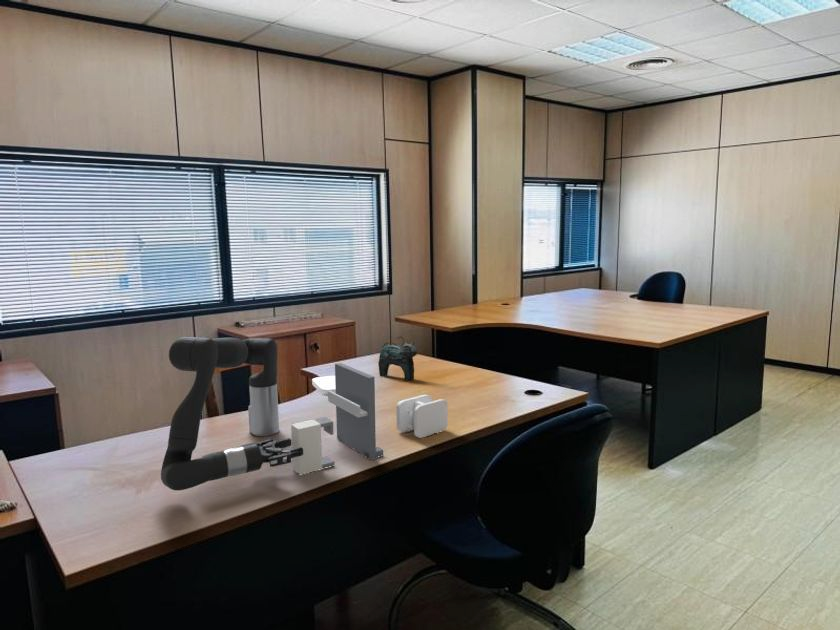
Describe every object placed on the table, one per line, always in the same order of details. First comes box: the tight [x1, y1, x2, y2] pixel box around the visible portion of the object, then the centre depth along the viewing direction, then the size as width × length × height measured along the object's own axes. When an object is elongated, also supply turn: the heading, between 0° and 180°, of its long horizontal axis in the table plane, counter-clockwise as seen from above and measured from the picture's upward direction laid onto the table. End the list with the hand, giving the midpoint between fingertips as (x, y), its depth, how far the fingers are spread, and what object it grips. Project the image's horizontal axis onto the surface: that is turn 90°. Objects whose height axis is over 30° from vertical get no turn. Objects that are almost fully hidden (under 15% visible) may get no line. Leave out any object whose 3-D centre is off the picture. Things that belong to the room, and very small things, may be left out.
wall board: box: [327, 362, 384, 460], centre depth 183 cm, size 22×8×26 cm, turn 35°
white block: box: [290, 416, 335, 475], centre depth 169 cm, size 5×11×14 cm, turn 125°
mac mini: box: [311, 374, 336, 396], centre depth 256 cm, size 22×22×3 cm
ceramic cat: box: [378, 336, 418, 382], centre depth 268 cm, size 20×6×20 cm, turn 58°
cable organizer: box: [396, 394, 449, 439], centre depth 198 cm, size 15×11×12 cm
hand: (296, 446), depth 166 cm, fingers open, 8 cm apart
